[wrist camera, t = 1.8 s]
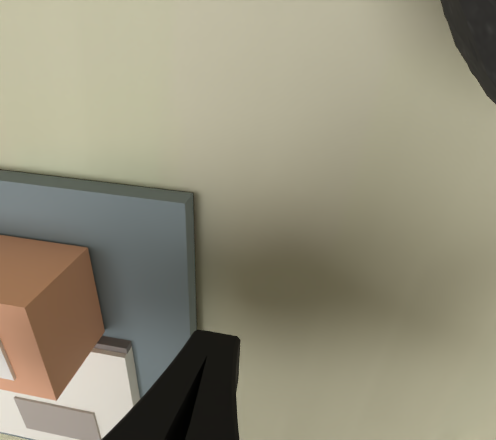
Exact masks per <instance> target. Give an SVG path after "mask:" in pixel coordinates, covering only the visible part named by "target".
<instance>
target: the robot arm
mask: <svg viewBox="0 0 496 440" xmlns="http://www.w3.org/2000/svg"><path fill="white" fill-rule="evenodd" d="M239 356H240V339H239V338H238V337H237V336H233V335H227V334H221V333H215V332H209V331H203V330H196V331H194V332H193V334H192V335H191V337H190V338H189V340H188V341H187V342H186V344H185V345H184V347H183V348H182V349H181V351H180V352H179V353H178V355H177V356H176V357H175V358H174V360H173V361H172V362H171V364H170V365H169V366H168V367H167V369H166V370H165V371H164V372H163V373H162V375H161V376H160V377H159V378H158V379H157V380H156V382H155V383H154V384H153V385H152V386H151V388H150V389H149V390H148V391H147V392H146V393H145V395H144V396H143V397H142V398H141V399H140V400H139V401H138V402H137V403H136V404H135V405H134V406H133V407H132V409H131V410H130V411H129V412H128V413H127V414H126V415H125V416H124V417H123V418H122V419H121V420H120V421H119V422H118V423H117V424H116V425H115V426H114V427H113V428H112V429H111V430H110V431H109V432H108V433H107V434H106V435H105V436H104V437H103V438H102V439H101V440H239V432H238V421H237V405H236V389H237V383H238V373H239Z"/></svg>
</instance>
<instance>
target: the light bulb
mask: <svg viewBox="0 0 496 440" xmlns="http://www.w3.org/2000/svg"><path fill="white" fill-rule="evenodd" d="M441 3H442V7H443V11H444V15H445V17H446V19H447V21H448V24H449V27H450V30H451V33H452V36H453V39H454V42H455V45H456V47H457V48H458V50H459V52H460V53H461V55H462V56H463V58H464V60H465V61H466V63H467V64H468V67H469V69H470V71H471V72H472V74H473V75H474V76H475V77H476V79H477V80H478V82H479V83H480V85H481V87H482V88H483V90H484V91H485V93H486V95H487V96H488V97H489V98H490V99H491V100H492V101H493V102H494V103H495V104H496V0H441Z"/></svg>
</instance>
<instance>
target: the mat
mask: <svg viewBox="0 0 496 440" xmlns="http://www.w3.org/2000/svg"><path fill="white" fill-rule="evenodd" d="M0 235H5V236H12V237H19V238H25V239H32V240H39V241H46V242H53V243H60V244H67V245H74V246H81V247H87V248H88V251H89V255H90V260H91V265H92V270H93V275H94V280H95V285H96V290H97V295H98V300H99V305H100V309H101V314H102V319H103V324H104V329H105V332H104V334H103V335H102V336H106V337H112V338H117V339H123V340H129V341H131V344H132V351H133V357H134V363H135V370H136V376H137V383H138V389H139V395H140V399H141V398H142V397H143V396H144V395H145V393H146V392H147V391H148V390H149V389H150V388H151V386H152V385H153V384H154V383H155V382H156V380H157V379H158V378H159V377H160V376H161V375H162V373H163V372H164V371H165V370H166V369H167V367H168V366H169V365H170V364H171V362H172V361H173V360H174V358H175V357H176V356H177V355H178V353H179V352H180V351H181V349H182V348H183V347H184V345H185V344H186V342H187V341H188V340H189V338H190V337H191V335H192V334H193V332H194V331H196V330H197V324H196V287H195V249H194V212H193V193H189V192H181V191H172V190H164V189H156V188H147V187H139V186H131V185H122V184H114V183H106V182H97V181H89V180H81V179H72V178H64V177H56V176H47V175H39V174H31V173H22V172H14V171H6V170H0ZM0 433H2V434H7V435H11V436H16V437H20V438H25V439H29V440H35V439H30V438H26V437H21V436H17V435H12V434H8V433H3V432H0Z"/></svg>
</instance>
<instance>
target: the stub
mask: <svg viewBox="0 0 496 440" xmlns="http://www.w3.org/2000/svg"><path fill="white" fill-rule="evenodd" d="M104 332H105V329H104V324H103V319H102V314H101V309H100V305H99V300H98V295H97V290H96V285H95V280H94V275H93V270H92V265H91V260H90V255H89V251H88V248H87V247H81V246H74V245H67V244H60V243H53V242H46V241H39V240H32V239H25V238H19V237H12V236H5V235H0V389H1V390H6V391H11V392H16V393H21V394H26V395H31V396H36V397H40V398H45V399H50V400H55V401H57V399H58V398H59V397H60V395H61V394H62V392H63V391H64V389H65V388H66V387H67V385H68V384H69V382H70V381H71V379H72V378H73V377H74V375H75V374H76V372H77V371H78V369H79V368H80V367H81V365H82V364H83V362H84V361H85V359H86V358H87V357H88V355H89V354H90V352H91V351H92V349H93V348H94V347H95V345H96V344H97V342H98V341H99V339H100V338H101V337H102V335H103V334H104Z"/></svg>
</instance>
